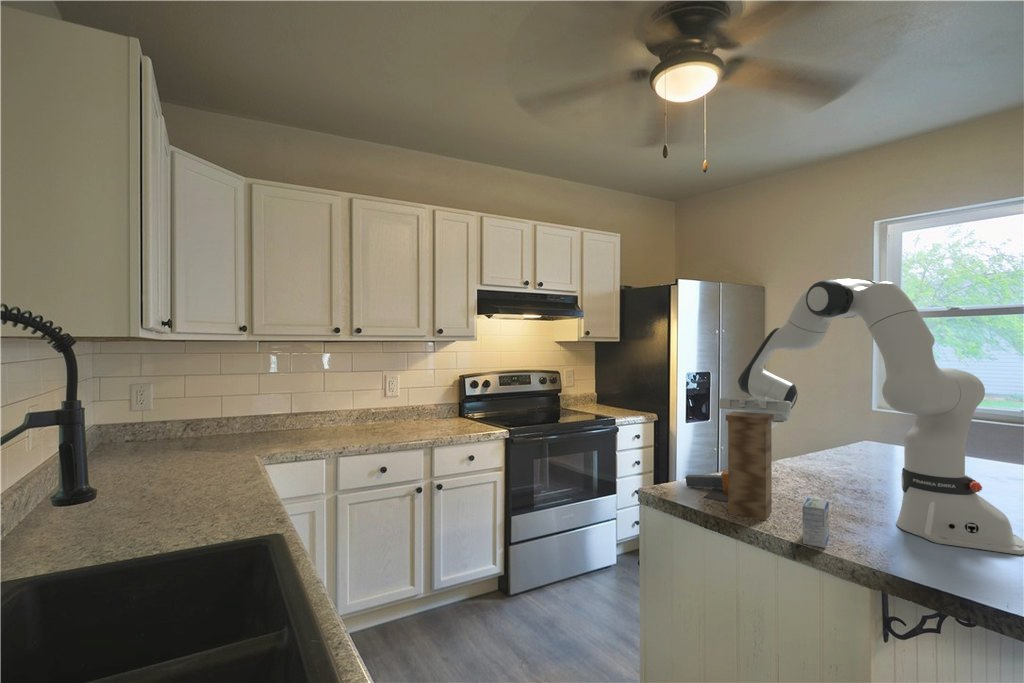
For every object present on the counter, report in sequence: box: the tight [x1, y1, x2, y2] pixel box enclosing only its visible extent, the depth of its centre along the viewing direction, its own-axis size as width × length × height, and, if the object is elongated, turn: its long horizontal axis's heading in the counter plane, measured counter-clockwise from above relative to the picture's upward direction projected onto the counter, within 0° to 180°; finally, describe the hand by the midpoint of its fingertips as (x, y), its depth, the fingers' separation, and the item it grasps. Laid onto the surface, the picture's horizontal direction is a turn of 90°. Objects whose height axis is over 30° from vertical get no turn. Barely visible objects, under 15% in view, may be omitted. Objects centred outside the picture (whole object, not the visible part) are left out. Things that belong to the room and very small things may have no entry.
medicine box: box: [801, 497, 830, 549], centre depth 111 cm, size 8×4×9 cm, turn 143°
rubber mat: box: [703, 487, 728, 503], centre depth 146 cm, size 9×16×1 cm, turn 143°
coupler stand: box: [725, 412, 774, 521], centre depth 130 cm, size 10×9×26 cm
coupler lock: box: [685, 469, 728, 495], centre depth 149 cm, size 6×17×5 cm
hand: (749, 401), depth 148 cm, fingers open, 2 cm apart
